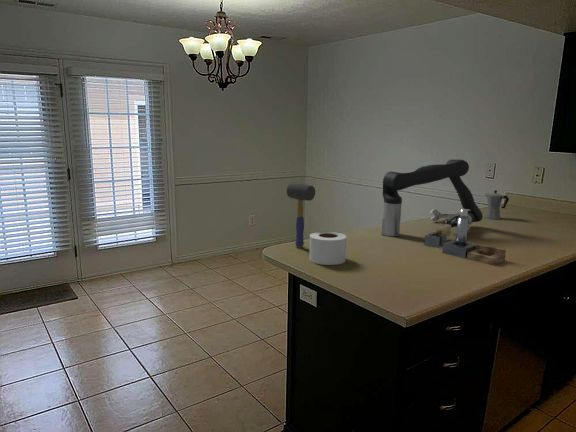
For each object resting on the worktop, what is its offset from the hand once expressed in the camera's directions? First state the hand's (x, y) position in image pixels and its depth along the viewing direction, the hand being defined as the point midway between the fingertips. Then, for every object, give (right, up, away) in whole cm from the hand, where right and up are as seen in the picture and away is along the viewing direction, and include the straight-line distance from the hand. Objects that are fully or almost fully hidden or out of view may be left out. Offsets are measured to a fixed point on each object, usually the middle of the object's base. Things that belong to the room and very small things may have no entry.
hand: (450, 225), depth 226 cm
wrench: (+13, +2, +45) cm, 47 cm away
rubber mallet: (-79, -10, -22) cm, 83 cm away
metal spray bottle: (-6, -10, -28) cm, 30 cm away
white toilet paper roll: (-68, -14, -40) cm, 80 cm away
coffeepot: (+48, +3, +53) cm, 71 cm away
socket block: (-6, -12, -27) cm, 30 cm away
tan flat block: (-6, -8, -6) cm, 12 cm away
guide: (-12, -9, -13) cm, 20 cm away
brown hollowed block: (+2, -14, -36) cm, 39 cm away
